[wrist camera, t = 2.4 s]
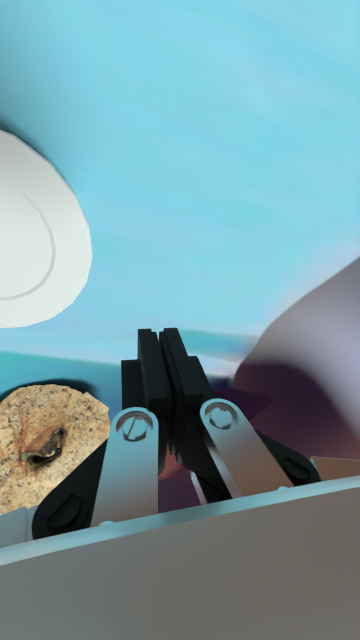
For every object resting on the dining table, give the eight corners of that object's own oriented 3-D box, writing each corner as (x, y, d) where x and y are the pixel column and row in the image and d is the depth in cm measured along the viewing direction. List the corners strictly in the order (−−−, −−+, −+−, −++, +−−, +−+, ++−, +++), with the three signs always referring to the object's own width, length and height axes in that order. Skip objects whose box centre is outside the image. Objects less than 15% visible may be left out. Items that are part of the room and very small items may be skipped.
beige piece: (48, 347, 37) (32, 359, 30) (127, 402, 41) (129, 426, 33) (-40, 448, 36) (-81, 488, 28) (49, 497, 39) (34, 544, 32)
